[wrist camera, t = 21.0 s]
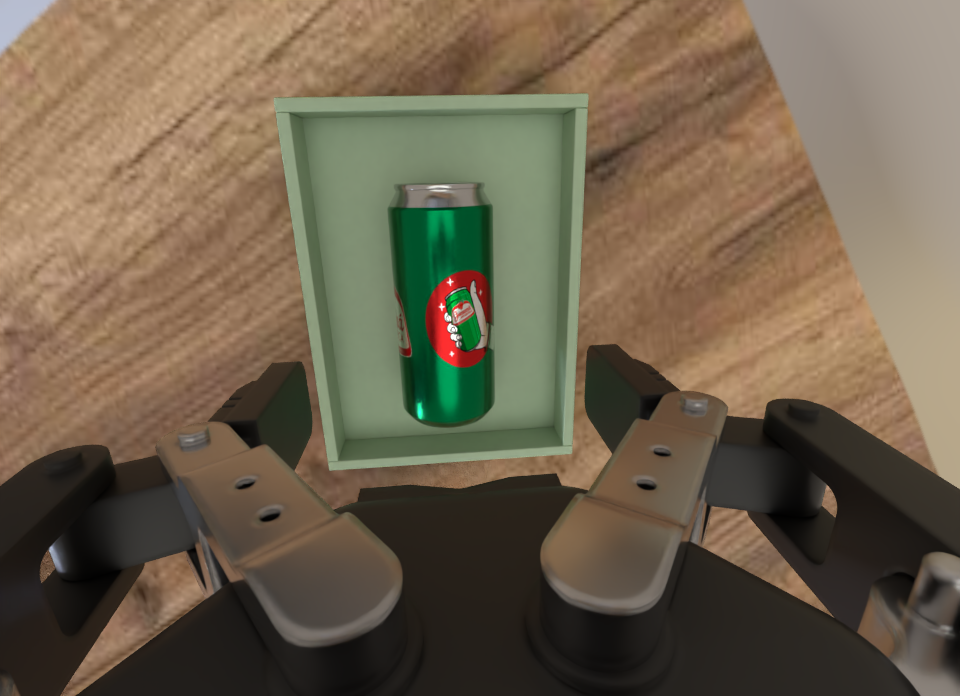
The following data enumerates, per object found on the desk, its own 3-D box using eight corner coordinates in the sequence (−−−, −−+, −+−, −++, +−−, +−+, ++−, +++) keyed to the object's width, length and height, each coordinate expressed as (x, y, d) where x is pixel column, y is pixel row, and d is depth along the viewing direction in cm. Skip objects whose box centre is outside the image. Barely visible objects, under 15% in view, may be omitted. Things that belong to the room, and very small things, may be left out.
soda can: (417, 389, 30) (403, 183, 26) (499, 393, 29) (498, 181, 25) (391, 430, 25) (369, 185, 21) (489, 435, 24) (485, 182, 20)
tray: (560, 429, 32) (572, 454, 29) (338, 443, 31) (329, 471, 28) (571, 102, 25) (588, 93, 22) (291, 106, 24) (272, 97, 21)
